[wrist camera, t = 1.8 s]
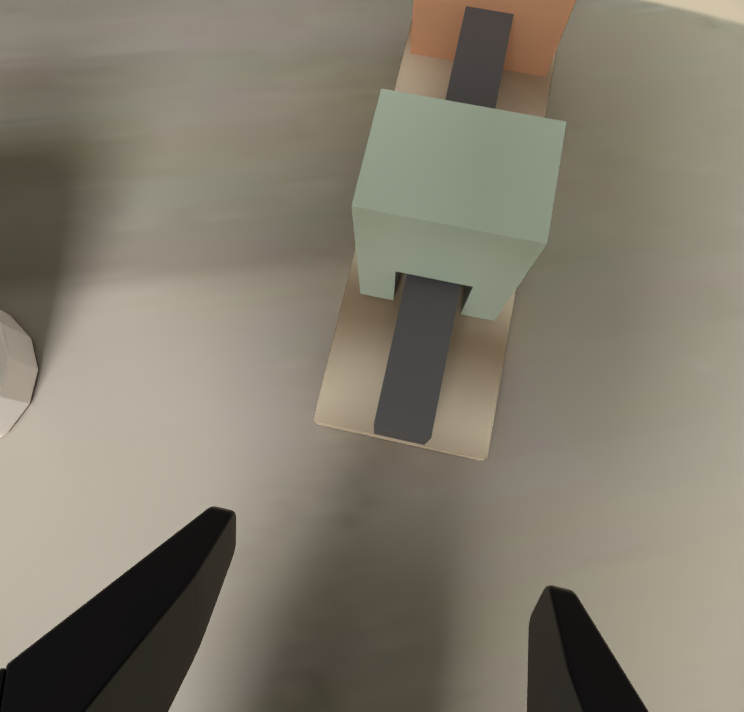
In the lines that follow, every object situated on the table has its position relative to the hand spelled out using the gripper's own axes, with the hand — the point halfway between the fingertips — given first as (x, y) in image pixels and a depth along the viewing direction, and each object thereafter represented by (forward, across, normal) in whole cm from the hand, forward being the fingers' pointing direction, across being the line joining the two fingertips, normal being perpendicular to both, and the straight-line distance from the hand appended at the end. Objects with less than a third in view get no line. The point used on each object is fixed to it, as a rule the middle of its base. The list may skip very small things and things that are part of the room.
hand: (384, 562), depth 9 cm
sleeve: (+16, 0, +1) cm, 16 cm away
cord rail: (+18, 0, -1) cm, 18 cm away
